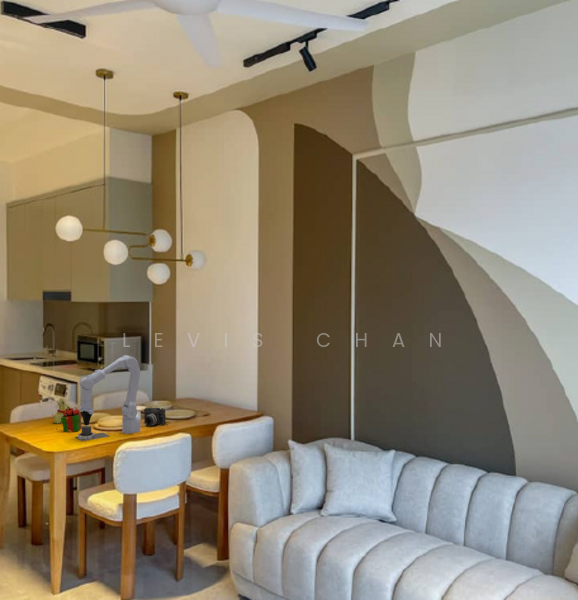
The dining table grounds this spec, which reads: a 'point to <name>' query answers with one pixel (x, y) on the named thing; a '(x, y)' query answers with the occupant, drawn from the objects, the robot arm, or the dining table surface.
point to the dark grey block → (86, 430)
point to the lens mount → (91, 436)
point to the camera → (154, 416)
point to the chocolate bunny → (60, 410)
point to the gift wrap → (71, 420)
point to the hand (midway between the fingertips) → (86, 424)
